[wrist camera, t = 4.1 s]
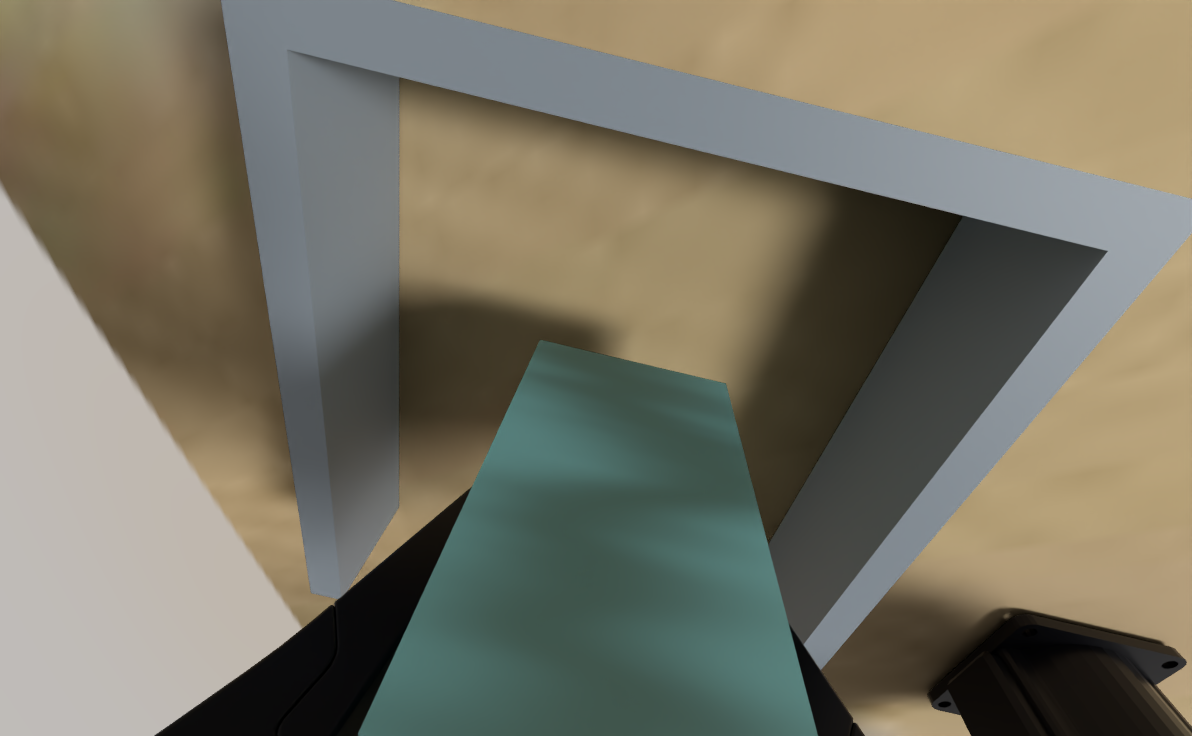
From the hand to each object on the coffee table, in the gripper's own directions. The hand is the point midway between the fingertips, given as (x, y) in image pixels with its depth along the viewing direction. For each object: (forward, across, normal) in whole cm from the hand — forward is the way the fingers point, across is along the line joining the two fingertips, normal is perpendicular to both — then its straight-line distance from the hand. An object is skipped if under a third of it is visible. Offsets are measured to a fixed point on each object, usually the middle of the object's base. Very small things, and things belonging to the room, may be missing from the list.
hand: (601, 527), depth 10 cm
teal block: (+3, 0, 0) cm, 3 cm away
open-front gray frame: (+6, 0, 0) cm, 6 cm away
